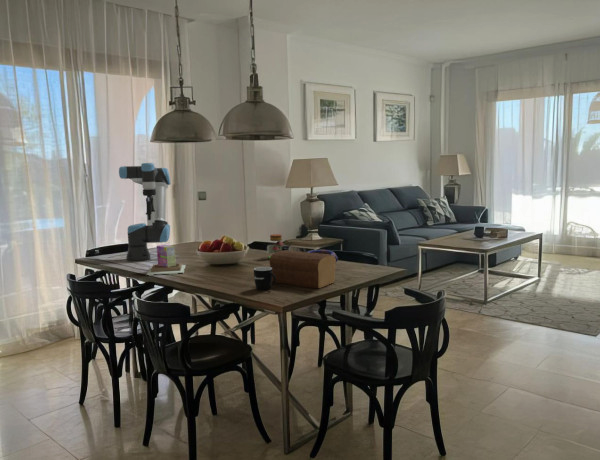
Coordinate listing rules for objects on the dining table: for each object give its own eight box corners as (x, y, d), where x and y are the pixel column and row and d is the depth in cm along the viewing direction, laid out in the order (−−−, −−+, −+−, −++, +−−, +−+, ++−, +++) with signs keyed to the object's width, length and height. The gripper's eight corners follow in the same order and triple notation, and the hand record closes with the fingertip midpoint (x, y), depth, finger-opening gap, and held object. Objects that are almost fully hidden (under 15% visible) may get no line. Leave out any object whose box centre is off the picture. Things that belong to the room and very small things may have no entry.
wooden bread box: (289, 276, 283) (288, 247, 281) (336, 282, 267) (336, 251, 265) (269, 282, 268) (268, 252, 266) (318, 289, 252) (317, 257, 250)
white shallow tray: (151, 268, 313) (151, 263, 312) (185, 266, 316) (185, 261, 316) (146, 275, 291) (146, 270, 291) (183, 273, 294) (183, 268, 294)
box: (157, 265, 305) (156, 245, 303) (165, 263, 309) (164, 244, 307) (167, 267, 298) (166, 247, 296) (175, 266, 302) (174, 245, 300)
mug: (250, 289, 254) (249, 269, 253) (261, 286, 261) (261, 266, 260) (270, 292, 247) (269, 271, 246) (281, 288, 255) (280, 268, 253)
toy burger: (290, 257, 339) (289, 234, 337) (273, 260, 332) (272, 236, 330) (280, 255, 348) (279, 233, 347) (264, 257, 341) (263, 234, 340)
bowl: (312, 273, 290) (312, 255, 288) (300, 267, 306) (299, 250, 305) (341, 270, 297) (341, 252, 295) (327, 264, 313) (327, 248, 312)
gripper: (144, 187, 323) (146, 221, 327) (140, 190, 299) (142, 226, 302) (157, 187, 325) (159, 221, 328) (153, 190, 300) (155, 226, 304)
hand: (151, 223), depth 315 cm, fingers open, 13 cm apart
